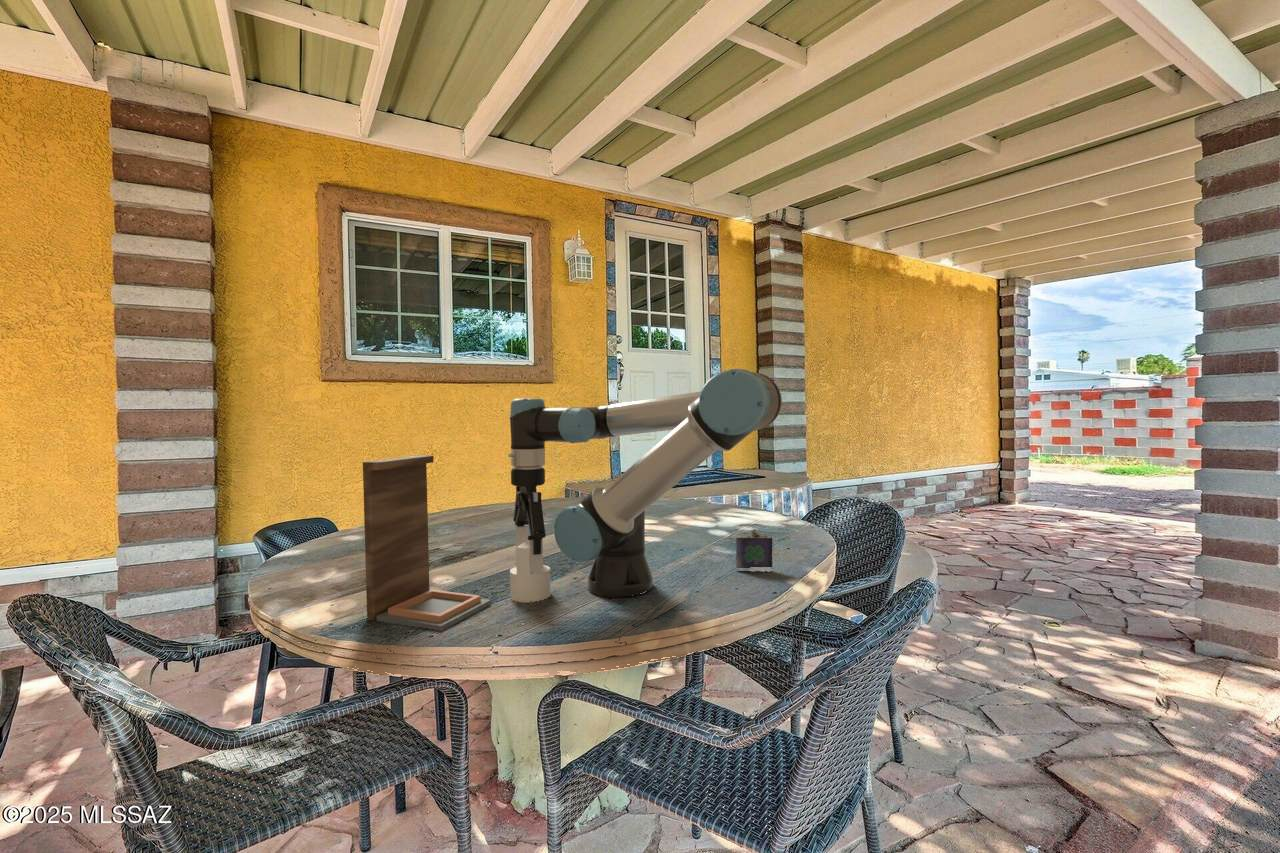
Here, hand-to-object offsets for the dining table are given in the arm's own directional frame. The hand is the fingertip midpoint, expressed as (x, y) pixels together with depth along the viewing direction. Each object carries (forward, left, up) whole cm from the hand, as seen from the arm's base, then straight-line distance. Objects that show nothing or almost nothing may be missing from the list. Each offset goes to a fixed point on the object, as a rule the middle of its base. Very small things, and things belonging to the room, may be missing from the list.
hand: (528, 561), depth 134 cm
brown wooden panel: (+22, +16, -8) cm, 28 cm away
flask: (-44, -36, -8) cm, 58 cm away
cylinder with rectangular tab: (0, 0, -8) cm, 8 cm away
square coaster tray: (+13, +16, -8) cm, 22 cm away
